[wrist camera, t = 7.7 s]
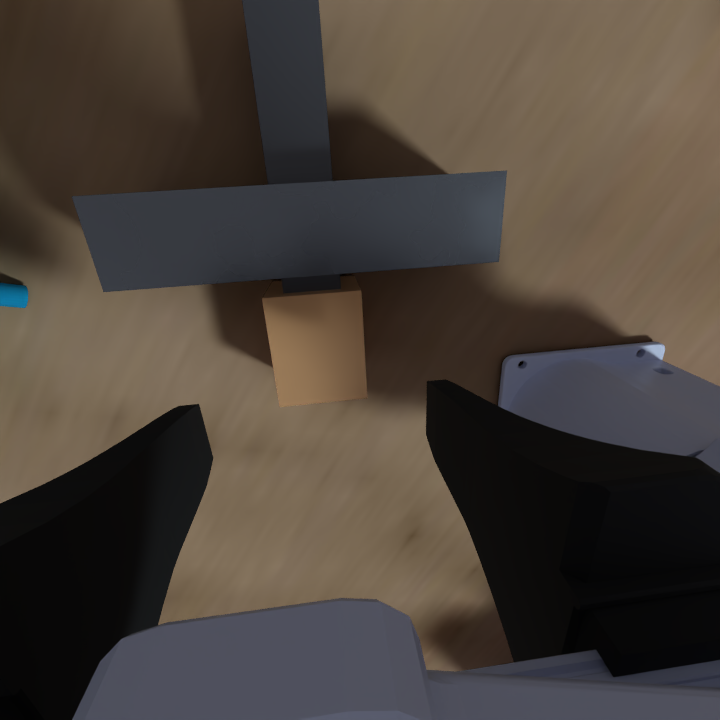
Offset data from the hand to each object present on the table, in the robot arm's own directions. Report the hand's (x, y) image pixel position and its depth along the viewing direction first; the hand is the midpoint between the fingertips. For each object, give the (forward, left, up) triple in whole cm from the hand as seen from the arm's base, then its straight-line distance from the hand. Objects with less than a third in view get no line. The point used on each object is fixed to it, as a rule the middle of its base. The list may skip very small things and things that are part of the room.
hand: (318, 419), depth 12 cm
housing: (0, -5, -8) cm, 10 cm away
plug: (0, -5, -8) cm, 10 cm away
